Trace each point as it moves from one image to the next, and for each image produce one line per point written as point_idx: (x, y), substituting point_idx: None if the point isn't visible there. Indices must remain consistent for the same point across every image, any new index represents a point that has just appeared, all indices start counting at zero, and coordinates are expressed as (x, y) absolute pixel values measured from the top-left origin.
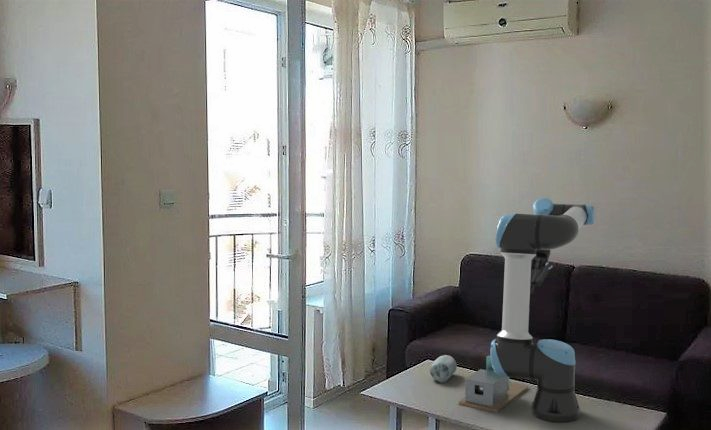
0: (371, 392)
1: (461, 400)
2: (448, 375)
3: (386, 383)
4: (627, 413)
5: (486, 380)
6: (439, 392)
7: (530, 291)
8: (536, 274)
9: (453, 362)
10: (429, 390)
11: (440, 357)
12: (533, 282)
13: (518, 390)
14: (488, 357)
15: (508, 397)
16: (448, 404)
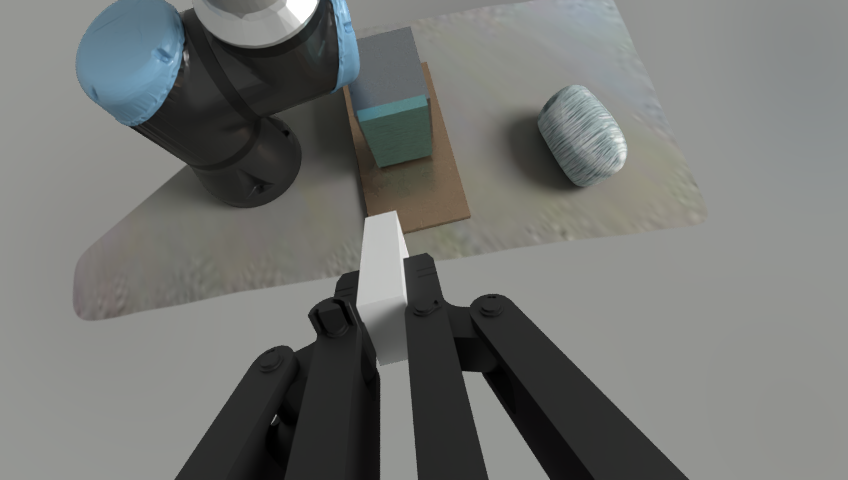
0: None
1: (426, 69)
2: (538, 121)
3: (627, 40)
4: (134, 268)
5: (365, 50)
6: (503, 83)
7: (348, 274)
8: (290, 476)
9: (560, 136)
10: (527, 76)
11: (600, 114)
12: (318, 328)
13: (372, 197)
14: (417, 97)
15: (363, 147)
16: (441, 53)
